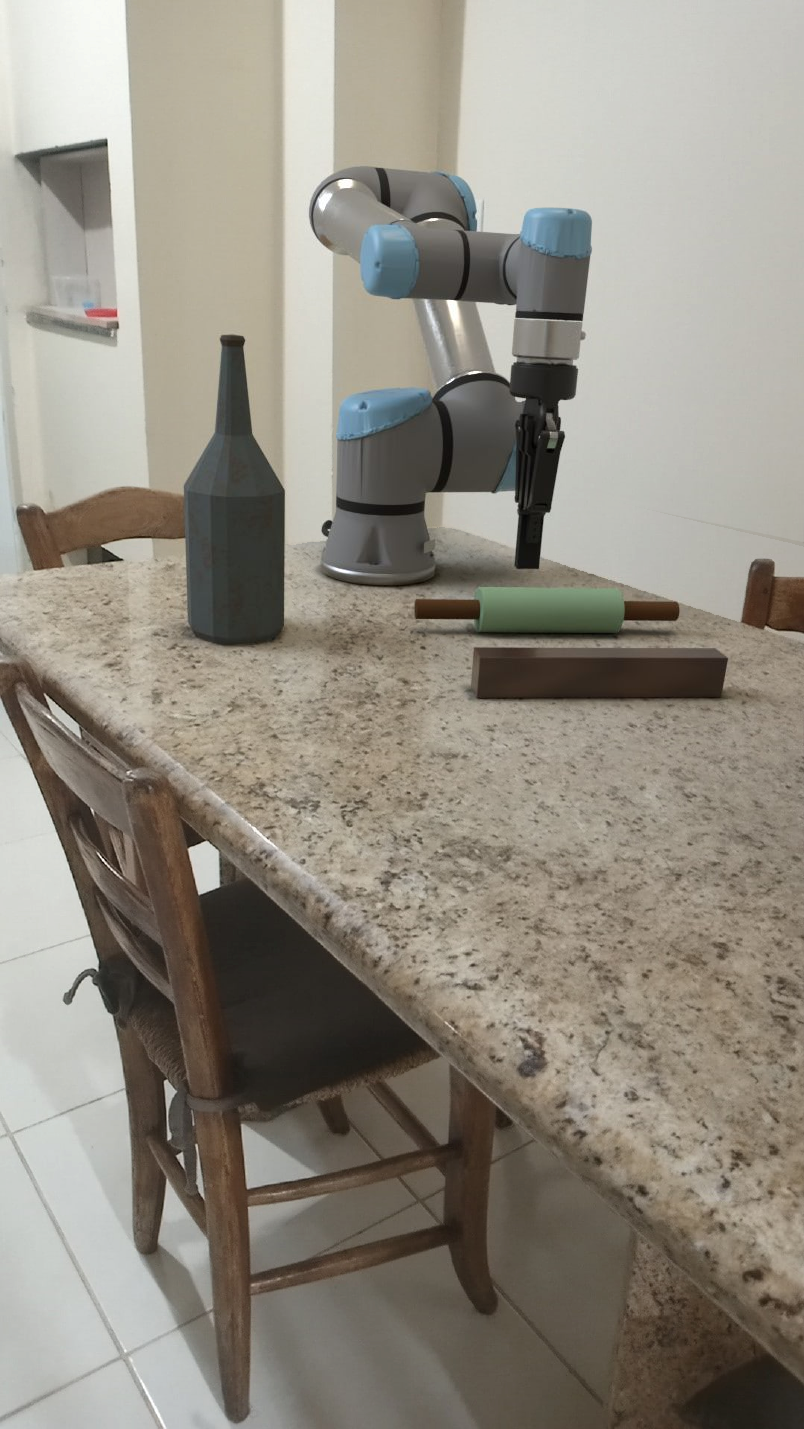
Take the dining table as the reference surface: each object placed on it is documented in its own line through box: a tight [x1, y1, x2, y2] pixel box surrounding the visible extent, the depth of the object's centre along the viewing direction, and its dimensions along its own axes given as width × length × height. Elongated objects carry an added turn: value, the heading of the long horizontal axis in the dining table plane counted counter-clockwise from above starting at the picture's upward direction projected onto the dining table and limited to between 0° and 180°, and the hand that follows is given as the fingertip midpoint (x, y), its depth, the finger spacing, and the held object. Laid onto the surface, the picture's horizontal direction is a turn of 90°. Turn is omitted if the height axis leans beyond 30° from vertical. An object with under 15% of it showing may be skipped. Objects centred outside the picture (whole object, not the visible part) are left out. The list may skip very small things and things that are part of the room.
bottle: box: [183, 334, 286, 646], centre depth 104 cm, size 10×10×30 cm
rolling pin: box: [413, 586, 681, 634], centre depth 114 cm, size 30×5×5 cm
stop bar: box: [470, 646, 729, 699], centre depth 97 cm, size 24×3×4 cm, turn 98°
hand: (526, 567), depth 124 cm, fingers closed
